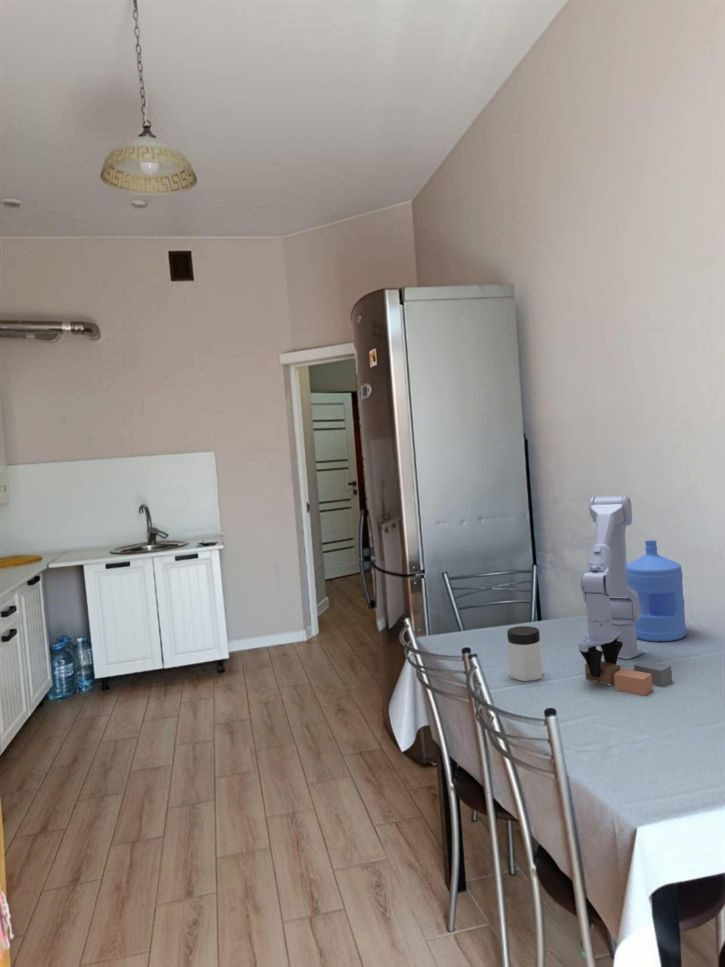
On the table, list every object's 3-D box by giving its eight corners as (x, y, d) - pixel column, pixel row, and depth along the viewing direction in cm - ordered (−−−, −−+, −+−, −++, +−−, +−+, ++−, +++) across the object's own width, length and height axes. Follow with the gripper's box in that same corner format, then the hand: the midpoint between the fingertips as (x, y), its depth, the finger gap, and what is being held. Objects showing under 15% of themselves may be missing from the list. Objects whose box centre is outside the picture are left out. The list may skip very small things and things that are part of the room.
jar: (513, 669, 177) (509, 625, 177) (544, 670, 174) (541, 625, 174) (508, 681, 169) (504, 634, 168) (540, 682, 166) (536, 635, 165)
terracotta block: (615, 690, 157) (614, 674, 157) (623, 684, 160) (622, 668, 160) (644, 696, 152) (643, 679, 151) (652, 690, 155) (651, 673, 154)
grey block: (635, 681, 162) (633, 664, 161) (644, 675, 164) (643, 660, 164) (662, 687, 156) (661, 670, 156) (672, 682, 159) (671, 665, 159)
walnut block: (586, 679, 165) (584, 664, 165) (597, 675, 168) (595, 659, 168) (610, 686, 160) (609, 670, 159) (621, 681, 162) (620, 665, 162)
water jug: (643, 625, 207) (636, 536, 206) (695, 631, 195) (688, 538, 194) (619, 637, 196) (612, 544, 195) (673, 645, 185) (666, 546, 183)
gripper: (603, 611, 170) (607, 662, 171) (566, 623, 162) (571, 677, 163) (627, 615, 165) (631, 668, 165) (590, 627, 156) (595, 684, 157)
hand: (603, 673), depth 164 cm, fingers open, 5 cm apart
